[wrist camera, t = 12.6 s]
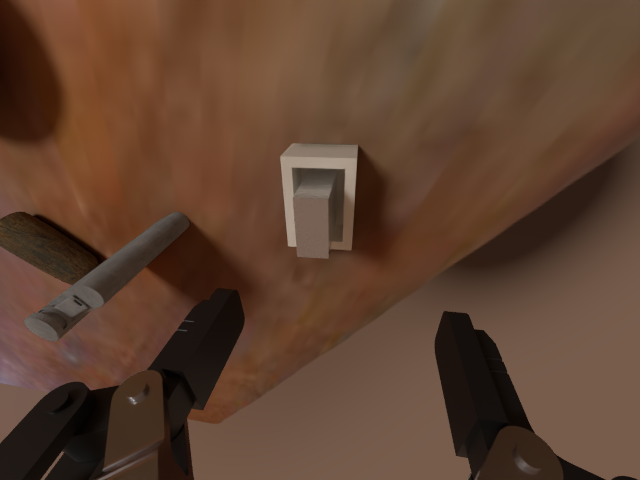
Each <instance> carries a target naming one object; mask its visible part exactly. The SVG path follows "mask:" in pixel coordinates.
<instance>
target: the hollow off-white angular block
mask: <svg viewBox="0 0 640 480" xmlns="http://www.w3.org/2000/svg"><path fill="white" fill-rule="evenodd" d="M357 156H358V145H339V144H292V145H291V146H290V147H289V148H288V149H287V150H286V151H285V152H284V153H283V154H282V155H281V156H280V158H281V170H282V181H283V192H284V203H285V215H286V226H287V237H288V246H292V247H296V234H295V222H294V210H293V196H294V195H295V193H296V191H297V189H298V187H299V185H300V184H301V182H302V180H303V178H304V176H305V175H306V173H307V171H308V169H309V168H325V169H337V218H336V223H335V228H334V233H333V239H332V244H331V249H336V250H351V251H352V238H353V224H354V207H355V190H356V173H357Z"/></svg>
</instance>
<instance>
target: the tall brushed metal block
mask: <svg viewBox="0 0 640 480" xmlns="http://www.w3.org/2000/svg"><path fill="white" fill-rule="evenodd" d="M293 210H294V222H295V234H296V247H297V257H312V258H327V259H329V254H330V249H331V244H332V239H333V233H334V228H335V223H336V218H337V169H325V168H309V169H308V171H307V173H306V175H305V176H304V178H303V180H302V182H301V184H300V185H299V187H298V189H297V191H296V193H295V195H294V196H293Z"/></svg>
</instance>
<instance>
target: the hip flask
mask: <svg viewBox="0 0 640 480" xmlns="http://www.w3.org/2000/svg"><path fill="white" fill-rule="evenodd" d="M189 225H190V223H189V220H188V218H187V217H186V216H185V215H184V214H182V213H179V212H175V213H172V214H170V215H168V216H166V217H164V218H163V219H161V220H159V221H158V222H156V223H155V224H154V225H152V226H151V227H150V228H148V229H147V230H146V231H144V232H143V233H142V234H140V235H139V236H138V237H136V238H135V239H134V240H132V241H131V242H130V243H128V244H127V245H126V246H124V247H123V248H122V249H120V250H119V251H118V252H116V253H115V254H114V255H112V256H111V257H110V258H108V259H107V260H106V261H104V262H103V263H102V264H100V265H99V266H98V267H96V268H95V269H94V270H92V271H91V272H90V273H88V274H87V275H86V276H84V277H83V278H82V279H80V280H79V281H77V282H76V283H75V284H73V285H72V286H71V287H69V288H68V289H67V290H65V291H64V292H63V293H61V294H60V295H59V296H57V297H56V298H55V299H54V300H52V301H51V302H50V303H49V304H48V305H47V306H45V307H43V308H42V309H41V310H40V311H38V313H33V314H31V315H30V316H29V317H27V318H26V319H25V321H24V323H25V325H26V327H27V328H28V329H29V330H30V331H32V332H33V333H34V334H36V335H38V336H40V337H42V338H44V339H46V340H49V341H58V340H59V339H60V338H61V337H62V336H63V335H64V334H66V333H67V332H68V331H69V330H70V329H71V328H72V327H73V326H75V325H76V324H77V323H78V322H79V321H80V320H81V319H82V318H84V317H85V316H86V315H87V314H88V313H89V312H90V311H91V310H93V309H96V308H99V307H101V306H103V305H104V304H105V303H106V302H107V301H109V300H110V299H111V298H112V297H113V296H114V295H115V294H116V293H117V292H118V291H119V290H121V289H122V288H123V287H124V286H125V285H126V284H127V283H128V282H129V281H130V280H132V279H133V278H134V277H135V276H136V275H137V274H138V273H139V272H140V271H141V270H142V269H144V268H145V267H146V266H147V265H148V264H149V263H150V262H151V261H152V260H153V259H155V258H156V257H157V256H158V255H159V254H160V253H161V252H162V251H163V250H164V249H165V248H167V247H168V246H169V245H170V244H171V243H172V242H173V241H174V240H175V239H176V238H178V237H179V236H180V235H181V234H182V233H183V232H184V231H185V230H186V229H187V228H188V227H189Z"/></svg>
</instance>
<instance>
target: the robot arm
mask: <svg viewBox="0 0 640 480" xmlns="http://www.w3.org/2000/svg"><path fill="white" fill-rule="evenodd" d="M244 320H245V317H244V312H243V308H242V304H241V300H240V296H239V293H238V291H237V290H232V289H221V288H218V289H217V290H215V292H214V293H213V295H212V296H211V297H210V299H209V300H203V301H202V302H200V303H199V304H198V305H197V306H195V307H194V308H193V309H192V310H191V311H190V313H189V314H188V315H187V317H186V318H185V319H184V322H182V323H181V325H180V326H179V328H178V330H177V331H176V332H175V333H174V334H173V336H172V337H171V338H170V340H169V341H168V343H167V344H166V345H165V347H164V348H163V349H162V351H161V352H160V353H159V355H158V356H157V358H156V359H155V360H154V362H153V363H152V364H151V366H150V367H149V368H148V369H147V370H144V371H140V372H138V373H136V374H134V375H132V376H130V377H129V378H127V379H126V380H125V381H124V382H123V383H122V384H121V385H119V386H113V387H108V388H102V389H97V390H91V391H90V389H89V388H88V387H87V386H86V385H85V384H84V383H82V382H70V383H67V384H64V385H62V386H60V387H58V388H56V389H54V390H53V391H51V392H50V393H48V394H47V395H46V396H45V397H43V399H41V400H40V401H39V402H38V403H37V405H36V406H35V407H34V408H33V409H32V410H31V411H30V412H29V413H28V414H27V415H26V416H25V417H24V419H23V420H22V421H21V422H20V423H19V424H18V425H17V426H16V427H15V428H14V429H13V430H12V432H11V433H10V434H9V435H8V436H7V437H6V438H5V439H4V440H3V441H2V442H1V443H0V480H40V479H41V478H42V477H43V475H44V474H45V473H46V471H47V470H48V469H49V467H50V466H51V465H52V463H53V462H54V461H55V459H56V458H57V457H58V455H59V454H60V453H61V451H63V452H64V454H63V455H62V457H61V458H60V459H59V461H58V462H57V464H56V465H55V466H54V467H53V469H52V470H51V471H50V473H49V474H48V476H47V477H46V478H45V480H194V476H193V467H192V458H191V450H190V440H189V430H188V422H187V416H188V414H189V413H190V411H191V409H198V410H203V409H204V407H205V405H206V403H207V401H208V399H209V397H210V395H211V393H212V391H213V389H214V387H215V384H216V382H217V380H218V378H219V376H220V374H221V372H222V370H223V368H224V366H225V364H226V362H227V360H228V358H229V356H230V354H231V352H232V350H233V348H234V346H235V344H236V342H237V340H238V338H239V336H240V334H241V332H242V329H243V326H244ZM435 355H436V360H437V365H438V370H439V375H440V380H441V385H442V390H443V394H444V399H445V404H446V409H447V414H448V419H449V424H450V428H451V433H452V438H453V443H454V448H455V453H456V456H460V457H466V458H468V460H469V464H470V468H471V473H470V475H469V477H468V479H467V480H605V479H603V478H601V477H599V476H597V475H594V474H592V473H590V472H588V471H586V470H584V469H582V468H579V467H577V466H575V465H573V464H571V463H569V462H567V461H565V460H563V459H562V458H560V457H559V456H557V455H556V454H555V453H554V452H553V450H552V449H551V448H550V447H549V446H548V445H547V443H546V442H545V441H543V440H542V439H541V438H540V437H539V436H537V435H536V434H535V433H534V431H533V429H532V428H531V426H530V424H529V421H528V419H527V417H526V414H525V412H524V409H523V407H522V405H521V402H520V400H519V398H518V395H517V393H516V391H515V389H514V386H513V384H512V381H511V379H510V377H509V375H508V374H507V370H506V367H505V365H504V362H502V358H501V356H500V353H499V351H498V348H497V346H496V344H495V343H494V342H493V340H492V339H491V338H490V337H489V336H488V335H487V334H486V333H485V331H484V330H475V329H474V328H473V325H472V322H471V320H470V317H469V315H468V314H467V313H457V312H447V311H444V312H443V315H442V318H441V321H440V324H439V328H438V331H437V334H436V338H435ZM612 480H637V479H635V478H631V477H627V476H618V477H615V478H613V479H612Z"/></svg>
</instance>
